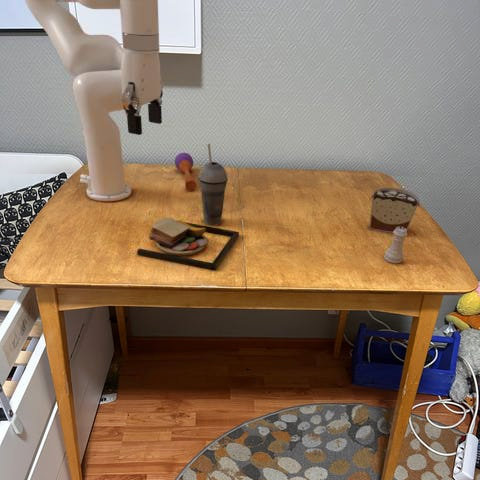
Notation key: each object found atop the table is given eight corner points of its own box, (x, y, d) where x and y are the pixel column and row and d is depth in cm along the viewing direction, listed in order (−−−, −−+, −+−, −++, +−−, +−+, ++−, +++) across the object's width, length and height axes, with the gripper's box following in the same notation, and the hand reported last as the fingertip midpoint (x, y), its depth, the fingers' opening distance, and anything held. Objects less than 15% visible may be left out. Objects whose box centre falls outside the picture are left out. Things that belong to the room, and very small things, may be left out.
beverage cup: (222, 229, 121) (224, 150, 109) (195, 225, 122) (194, 147, 110) (229, 217, 126) (231, 141, 114) (202, 214, 127) (202, 138, 115)
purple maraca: (179, 178, 137) (172, 151, 151) (183, 196, 141) (176, 168, 156) (198, 174, 137) (190, 147, 152) (202, 192, 141) (193, 165, 156)
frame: (137, 254, 108) (137, 250, 107) (169, 223, 122) (169, 219, 121) (214, 270, 104) (215, 265, 103) (238, 236, 118) (239, 231, 117)
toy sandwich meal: (182, 263, 106) (182, 244, 103) (141, 244, 112) (139, 226, 109) (217, 244, 114) (218, 226, 111) (177, 227, 120) (176, 210, 117)
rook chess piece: (380, 255, 114) (388, 224, 109) (398, 255, 114) (407, 224, 109) (386, 264, 110) (395, 233, 105) (405, 264, 110) (414, 233, 106)
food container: (412, 227, 127) (422, 191, 121) (410, 236, 123) (421, 200, 116) (366, 218, 130) (374, 183, 124) (363, 227, 125) (371, 191, 119)
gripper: (144, 36, 105) (148, 116, 115) (102, 45, 91) (111, 135, 102) (175, 40, 103) (176, 121, 114) (136, 50, 90) (142, 141, 101)
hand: (145, 128), depth 108 cm, fingers open, 9 cm apart
